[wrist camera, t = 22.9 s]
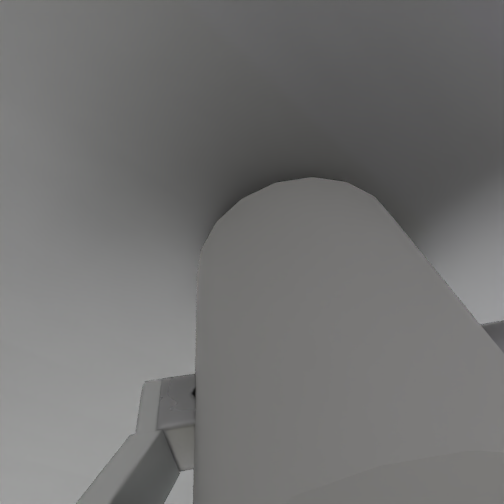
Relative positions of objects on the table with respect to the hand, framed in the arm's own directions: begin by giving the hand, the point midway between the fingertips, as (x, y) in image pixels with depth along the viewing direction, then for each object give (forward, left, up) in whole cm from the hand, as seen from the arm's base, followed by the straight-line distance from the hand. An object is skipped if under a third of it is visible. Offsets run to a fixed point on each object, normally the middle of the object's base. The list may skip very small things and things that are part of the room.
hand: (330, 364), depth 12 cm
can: (0, 0, -5) cm, 5 cm away
